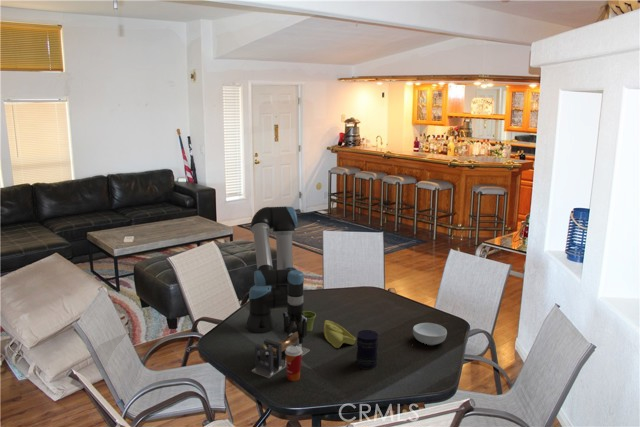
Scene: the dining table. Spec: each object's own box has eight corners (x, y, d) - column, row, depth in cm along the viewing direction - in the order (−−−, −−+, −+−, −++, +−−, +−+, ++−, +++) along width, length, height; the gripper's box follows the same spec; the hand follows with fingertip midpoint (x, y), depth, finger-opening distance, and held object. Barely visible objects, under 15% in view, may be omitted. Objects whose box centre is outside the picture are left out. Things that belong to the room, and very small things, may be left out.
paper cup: (284, 373, 249) (284, 345, 246) (301, 373, 250) (302, 344, 247) (285, 383, 242) (285, 353, 238) (302, 382, 242) (302, 353, 239)
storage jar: (371, 371, 253) (372, 341, 250) (352, 365, 258) (353, 335, 255) (380, 362, 261) (382, 333, 258) (362, 356, 266) (363, 328, 263)
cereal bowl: (449, 338, 287) (450, 326, 286) (441, 352, 272) (442, 338, 271) (417, 332, 294) (418, 319, 293) (408, 345, 279) (409, 332, 278)
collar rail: (293, 345, 276) (293, 320, 273) (309, 350, 271) (310, 325, 268) (251, 371, 250) (251, 344, 247) (268, 378, 245) (268, 350, 242)
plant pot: (318, 327, 297) (318, 312, 295) (312, 334, 289) (312, 319, 287) (301, 324, 300) (302, 309, 298) (295, 331, 292) (295, 316, 290)
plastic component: (358, 340, 278) (343, 336, 273) (351, 353, 279) (337, 349, 273) (337, 323, 295) (323, 318, 289) (331, 335, 295) (317, 331, 289)
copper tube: (294, 339, 271) (294, 330, 270) (301, 341, 269) (301, 332, 268) (268, 354, 255) (268, 345, 254) (276, 357, 252) (276, 348, 251)
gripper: (276, 301, 265) (276, 346, 270) (305, 309, 256) (305, 355, 261) (285, 296, 271) (285, 340, 276) (314, 304, 262) (314, 349, 267)
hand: (295, 347), depth 269 cm, fingers closed on copper tube, 4 cm apart
